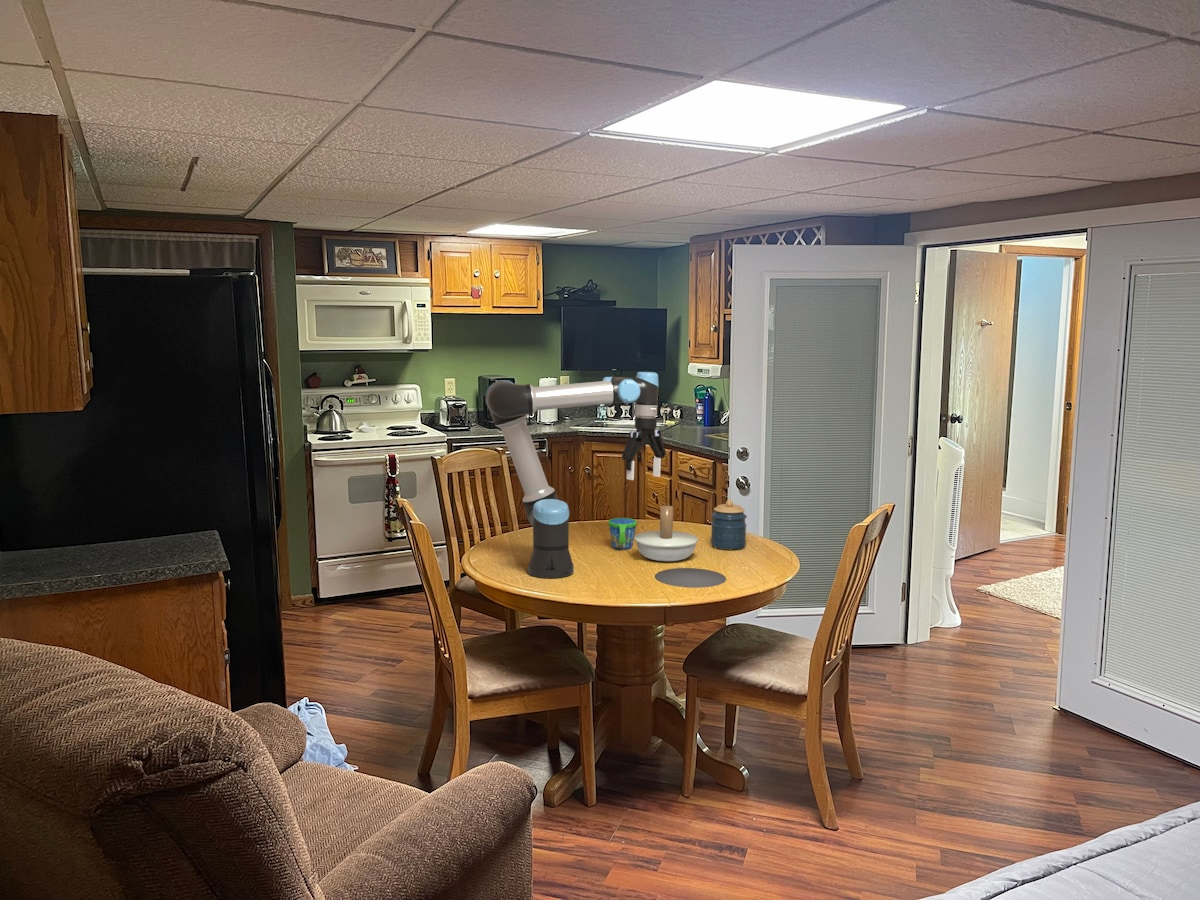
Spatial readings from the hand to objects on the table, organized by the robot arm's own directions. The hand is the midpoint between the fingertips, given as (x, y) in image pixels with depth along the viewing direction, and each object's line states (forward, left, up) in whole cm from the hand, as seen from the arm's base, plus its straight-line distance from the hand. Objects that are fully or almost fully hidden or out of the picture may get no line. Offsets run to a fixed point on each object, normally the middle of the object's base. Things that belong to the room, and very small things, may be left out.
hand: (643, 477), depth 307 cm
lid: (+5, -6, -22) cm, 23 cm away
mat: (-9, -28, -29) cm, 41 cm away
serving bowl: (+5, -6, -29) cm, 30 cm away
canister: (+36, -10, -29) cm, 48 cm away
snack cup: (+6, +16, -29) cm, 33 cm away
